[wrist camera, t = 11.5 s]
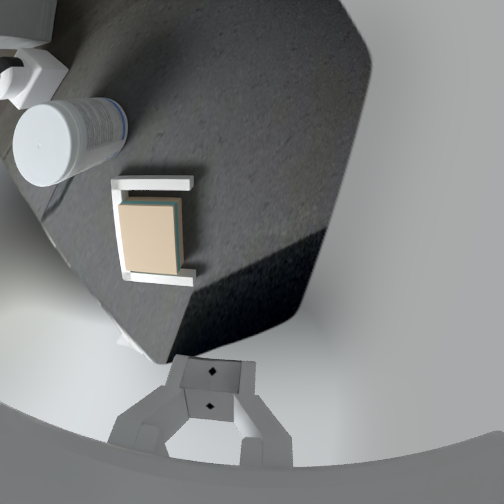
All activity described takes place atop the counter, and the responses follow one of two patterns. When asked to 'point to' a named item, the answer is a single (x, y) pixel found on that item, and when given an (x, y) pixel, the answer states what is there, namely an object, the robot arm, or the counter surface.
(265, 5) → the counter surface
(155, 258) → the carton
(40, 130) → the supplement tub
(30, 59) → the medicine bottle
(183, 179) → the frame
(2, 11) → the skincare box
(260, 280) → the counter surface
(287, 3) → the counter surface
